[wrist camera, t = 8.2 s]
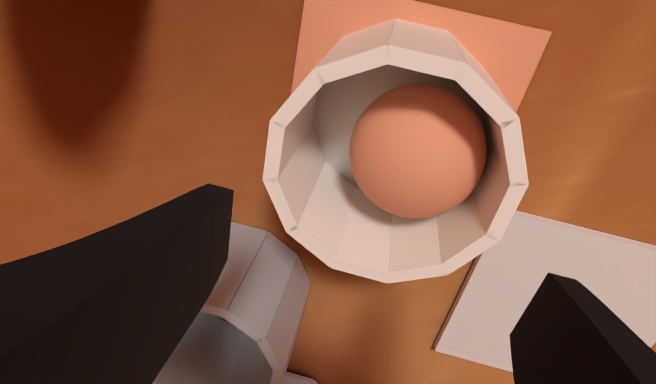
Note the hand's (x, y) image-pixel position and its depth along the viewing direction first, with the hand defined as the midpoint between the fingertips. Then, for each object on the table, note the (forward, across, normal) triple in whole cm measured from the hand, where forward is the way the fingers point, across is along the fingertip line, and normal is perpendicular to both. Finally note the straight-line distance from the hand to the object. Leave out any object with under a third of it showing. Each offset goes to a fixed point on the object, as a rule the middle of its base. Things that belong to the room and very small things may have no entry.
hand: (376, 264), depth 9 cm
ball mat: (+10, -11, +8) cm, 17 cm away
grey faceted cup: (+10, +6, +12) cm, 17 cm away
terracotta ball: (+7, -1, 0) cm, 7 cm away
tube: (+10, 0, 0) cm, 10 cm away
